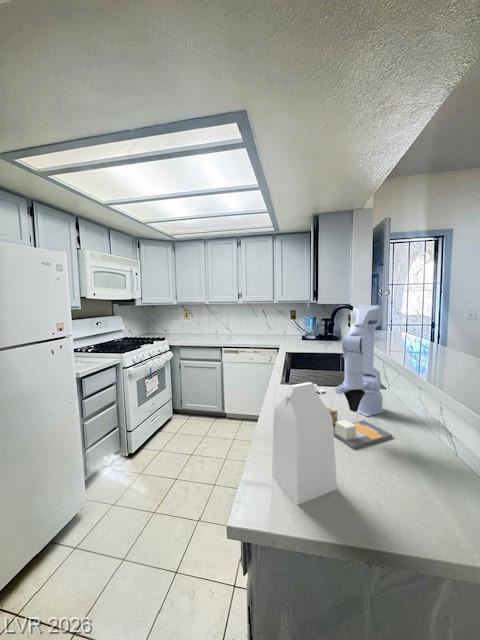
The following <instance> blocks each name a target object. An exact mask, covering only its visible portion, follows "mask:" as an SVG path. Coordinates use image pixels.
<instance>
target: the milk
mask: <svg viewBox="0 0 480 640" xmlns="http://www.w3.org/2000/svg"><path fill="white" fill-rule="evenodd" d="M313 384H314V382H311V381H308V382H302V383H297V384H296V383H295V384H292V385H290V387H289V390H288V392H287V395H286V397H285V398H284V399H282V401H280V403H278V404H277V405H276V406H275V408H274V411H273V429H272V432H273V433H272V463H271V464H272V466H271V476H272V477H273V479H274V480H275V481H276V482H277V483H278V484H279V486H280V487H281V488H282V489H283V491H284V492H286V494H287V495H288V496H289V497H290V499H291V500H292V501H293V502H294V503H295V504H296V505H297V506H299V505H301V504H304V503H305V502H308V501H312V500H314V499H316V498H318V497H321V496H323V495H326V494H328V493H331V492H333V491H336V490H338V481H337V465H336V454H335V453H336V451H335V437H334V434H333V428H334V424H333V420H332V416H331V414H330V412H329V410H328V409H327V406H326V405H325V403H324V402H323V400H322V399H321V398H320V396H319V395H317V394H318V393H317V391H316V390H315V387H314V385H313Z"/></svg>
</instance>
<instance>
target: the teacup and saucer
mask: <svg viewBox="0 0 480 640" xmlns="http://www.w3.org/2000/svg"><path fill="white" fill-rule="evenodd" d="M313 385H314V387H315V390H316V392H317V391H318V392H321V394H323V393H324V392H325V389H324V388H319V389H318V385H317V384H316V383H313ZM318 392H317V393H318ZM322 392H323V393H322Z"/></svg>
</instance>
